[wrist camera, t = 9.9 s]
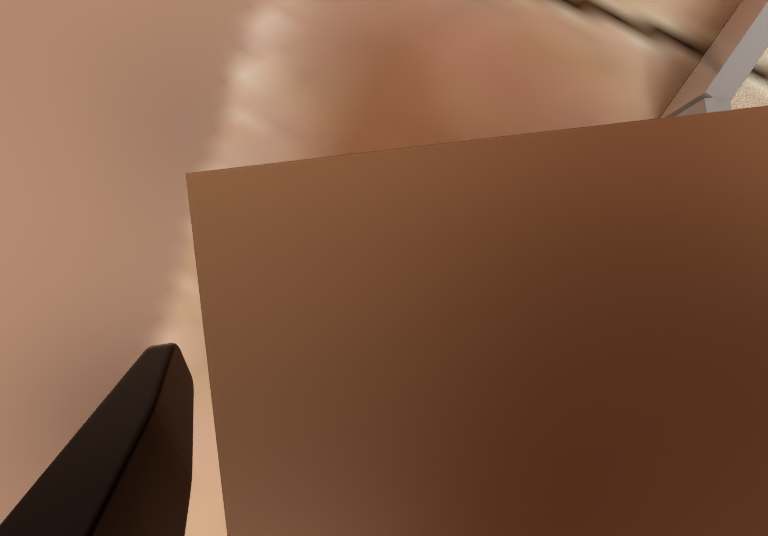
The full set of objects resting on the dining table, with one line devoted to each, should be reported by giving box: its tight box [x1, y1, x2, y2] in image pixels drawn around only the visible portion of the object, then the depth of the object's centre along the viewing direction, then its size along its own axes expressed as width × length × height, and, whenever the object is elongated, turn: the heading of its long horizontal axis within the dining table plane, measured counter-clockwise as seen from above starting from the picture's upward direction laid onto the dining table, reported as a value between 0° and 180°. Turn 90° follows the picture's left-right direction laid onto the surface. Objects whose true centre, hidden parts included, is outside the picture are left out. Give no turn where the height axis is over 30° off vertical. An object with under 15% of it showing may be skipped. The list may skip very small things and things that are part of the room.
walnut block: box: [186, 106, 768, 536], centre depth 11 cm, size 6×6×12 cm
